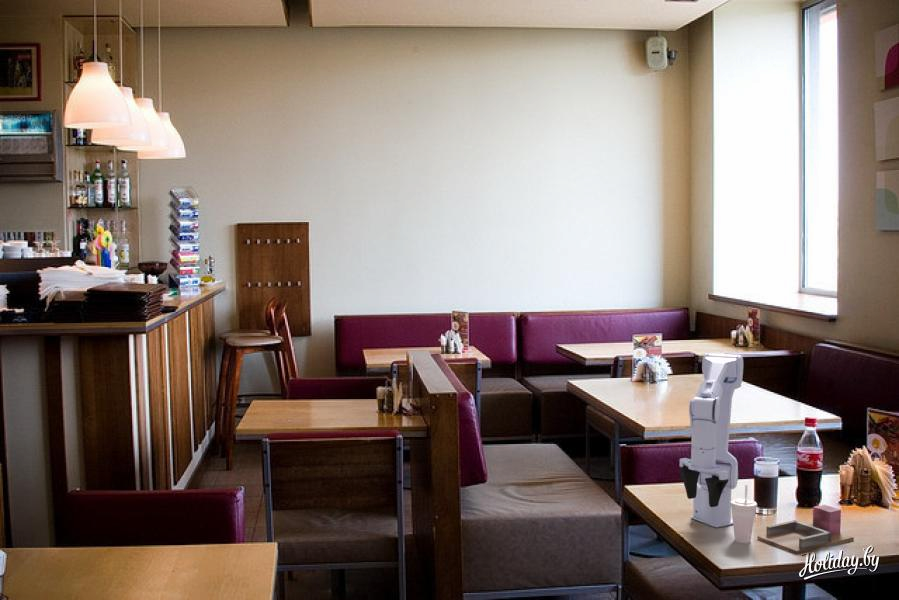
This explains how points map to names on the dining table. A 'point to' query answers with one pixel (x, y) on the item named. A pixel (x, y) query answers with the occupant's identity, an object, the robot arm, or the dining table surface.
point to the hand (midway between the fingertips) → (702, 502)
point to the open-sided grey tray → (808, 532)
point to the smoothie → (743, 518)
